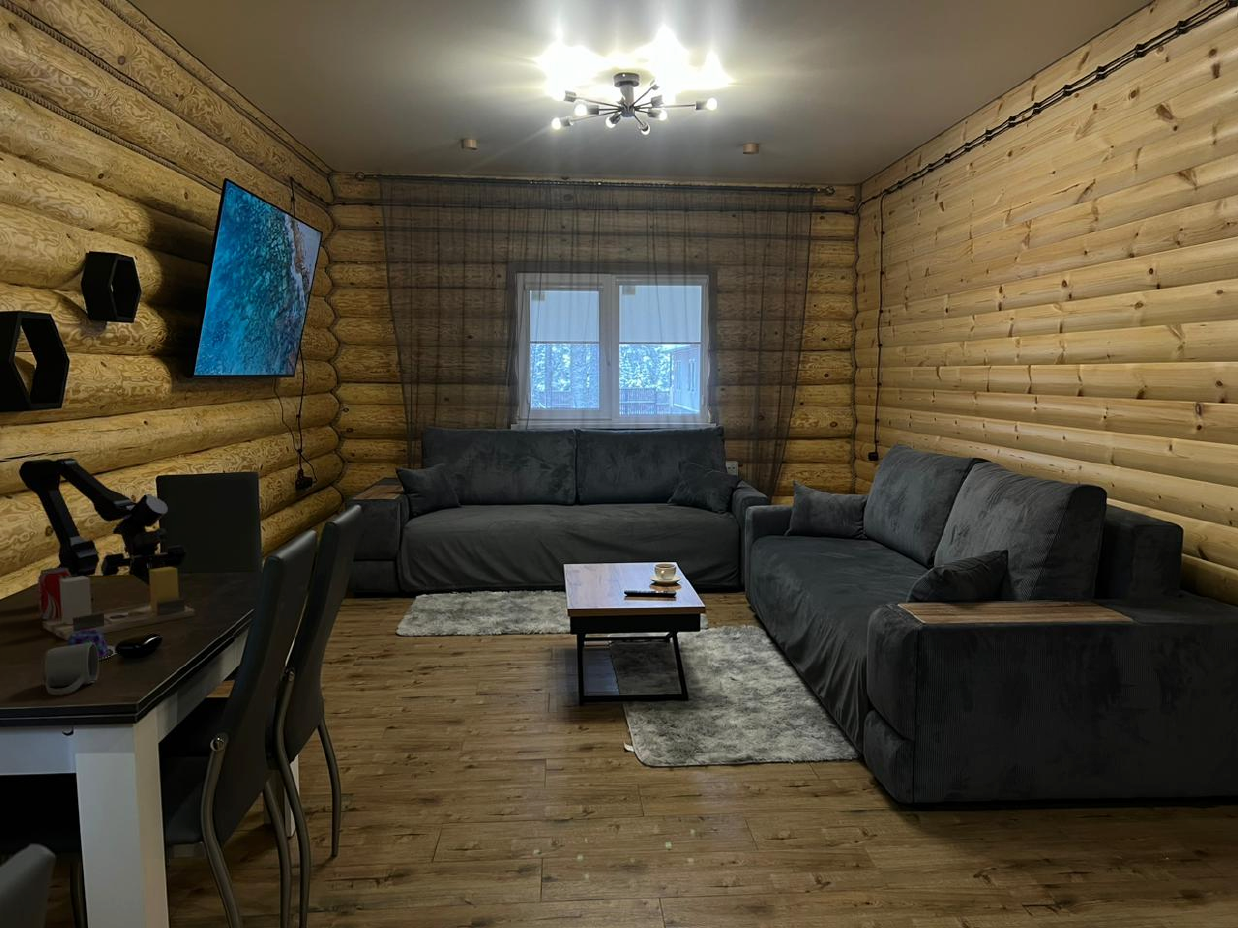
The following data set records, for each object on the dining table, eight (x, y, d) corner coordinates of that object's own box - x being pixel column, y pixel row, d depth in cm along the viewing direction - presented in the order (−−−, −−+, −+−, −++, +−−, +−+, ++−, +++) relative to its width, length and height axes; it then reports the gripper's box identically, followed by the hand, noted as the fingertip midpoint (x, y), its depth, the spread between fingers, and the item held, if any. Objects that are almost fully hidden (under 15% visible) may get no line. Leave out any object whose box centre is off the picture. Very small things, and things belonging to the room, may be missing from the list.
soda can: (57, 622, 208) (54, 573, 207) (32, 621, 210) (29, 572, 209) (81, 615, 215) (78, 567, 214) (57, 613, 217) (54, 566, 216)
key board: (43, 627, 204) (41, 608, 204) (167, 604, 225) (166, 587, 225) (66, 640, 194) (65, 620, 193) (194, 615, 215) (193, 597, 214)
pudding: (56, 670, 174) (55, 645, 174) (49, 656, 183) (48, 631, 183) (124, 658, 182) (123, 634, 181) (114, 645, 191) (113, 622, 191)
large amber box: (151, 609, 213) (149, 569, 212) (172, 605, 217) (170, 566, 216) (157, 612, 211) (155, 571, 210) (179, 608, 215) (177, 568, 214)
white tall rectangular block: (61, 621, 203) (59, 579, 202) (85, 617, 206) (83, 575, 205) (67, 624, 200) (65, 581, 199) (91, 620, 204) (89, 578, 203)
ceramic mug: (52, 679, 168) (49, 641, 167) (100, 675, 170) (98, 637, 169) (35, 699, 158) (32, 658, 157) (86, 694, 160) (83, 654, 159)
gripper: (102, 522, 212) (121, 574, 205) (182, 514, 226) (202, 562, 219) (92, 550, 218) (110, 600, 211) (170, 540, 232) (189, 588, 225)
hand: (154, 587), depth 217 cm, fingers closed
